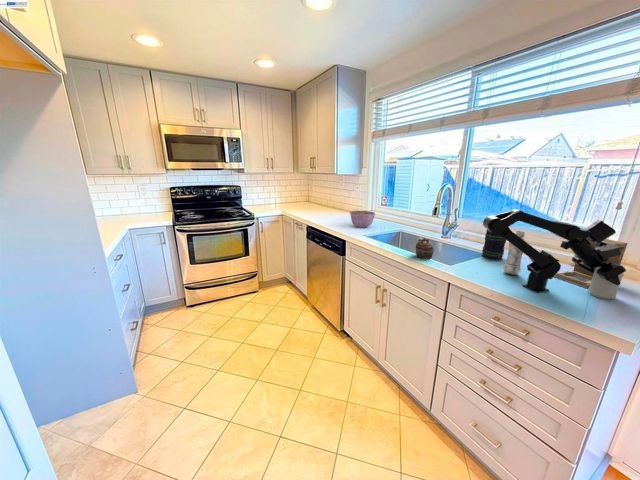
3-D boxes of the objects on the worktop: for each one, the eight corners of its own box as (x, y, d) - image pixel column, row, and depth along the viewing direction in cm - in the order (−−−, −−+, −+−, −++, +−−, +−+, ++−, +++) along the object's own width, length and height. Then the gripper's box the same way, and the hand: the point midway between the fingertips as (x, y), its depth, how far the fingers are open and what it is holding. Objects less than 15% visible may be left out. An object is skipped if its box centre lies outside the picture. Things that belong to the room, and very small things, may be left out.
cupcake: (426, 261, 139) (429, 242, 136) (410, 256, 146) (412, 238, 143) (436, 257, 144) (439, 240, 141) (421, 253, 152) (423, 236, 149)
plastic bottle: (500, 273, 124) (510, 231, 118) (503, 269, 128) (512, 229, 123) (517, 277, 119) (528, 234, 114) (520, 273, 124) (529, 232, 119)
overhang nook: (585, 288, 110) (599, 245, 105) (549, 275, 123) (559, 236, 118) (613, 284, 114) (627, 243, 109) (575, 272, 127) (586, 234, 122)
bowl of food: (344, 226, 216) (344, 212, 213) (359, 223, 229) (360, 209, 226) (363, 230, 202) (364, 215, 199) (379, 227, 215) (380, 213, 212)
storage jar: (505, 258, 145) (511, 231, 141) (497, 261, 140) (503, 234, 136) (486, 253, 153) (491, 228, 149) (477, 256, 148) (482, 230, 144)
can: (586, 289, 109) (595, 262, 105) (612, 295, 104) (622, 266, 101) (588, 296, 103) (597, 267, 100) (616, 302, 98) (627, 272, 95)
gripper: (628, 243, 89) (657, 277, 90) (589, 231, 107) (614, 260, 107) (592, 263, 93) (621, 296, 94) (560, 248, 111) (585, 275, 111)
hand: (610, 280), depth 101 cm, fingers closed on can, 7 cm apart
